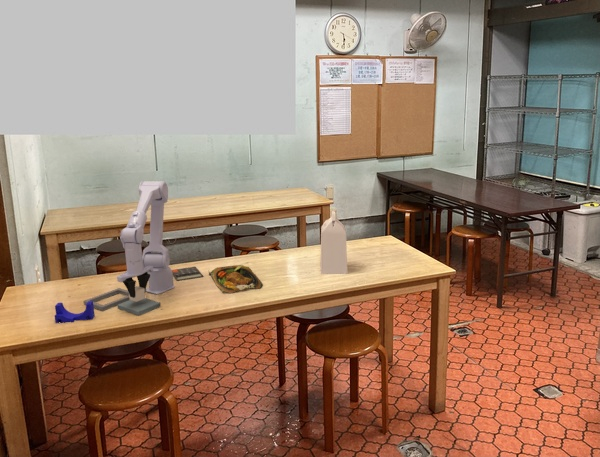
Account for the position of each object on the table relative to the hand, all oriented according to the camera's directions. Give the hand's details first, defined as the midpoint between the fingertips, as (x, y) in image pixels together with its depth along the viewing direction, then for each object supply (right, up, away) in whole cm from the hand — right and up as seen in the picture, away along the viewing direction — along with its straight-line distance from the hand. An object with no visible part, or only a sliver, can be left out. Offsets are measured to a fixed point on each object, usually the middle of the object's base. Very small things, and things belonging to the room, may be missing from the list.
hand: (137, 294), depth 192 cm
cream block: (0, -2, +1) cm, 2 cm away
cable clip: (-20, -8, -8) cm, 23 cm away
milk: (+75, +6, +39) cm, 85 cm away
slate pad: (0, -5, +1) cm, 5 cm away
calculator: (+10, +4, +37) cm, 39 cm away
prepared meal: (+33, +2, +28) cm, 43 cm away
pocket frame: (-13, -3, +8) cm, 15 cm away
